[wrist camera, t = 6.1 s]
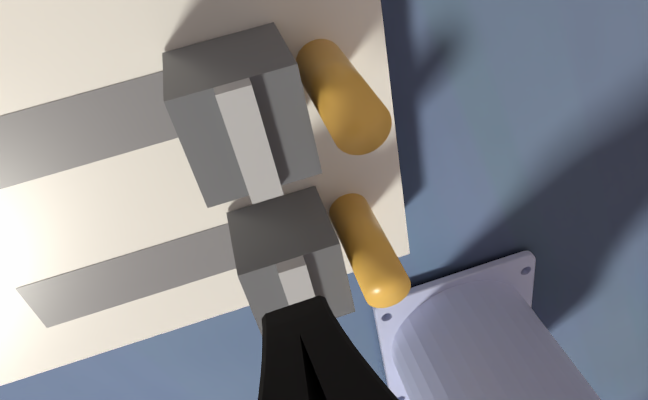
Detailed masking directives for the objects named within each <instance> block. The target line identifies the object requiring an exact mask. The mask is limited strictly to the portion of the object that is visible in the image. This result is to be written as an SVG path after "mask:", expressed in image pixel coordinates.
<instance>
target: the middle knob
mask: <svg viewBox="0 0 648 400" xmlns="http://www.w3.org/2000/svg"><path fill="white" fill-rule="evenodd" d="M162 62H163V98H164V104H165V106H166V109H167V111H168V114H169V116H170V118H171V121H172V123H173V126H174V128H175V131H176V133H177V135H178V138H179V140H180V143H181V145H182V147H183V150H184V152H185V155H186V157H187V160H188V162H189V164H190V167H191V169H192V172H193V174H194V177H195V179H196V181H197V184H198V186H199V189H200V191H201V193H202V196H203V198H204V201H205V203H206V206H207V208H210V207H213V206H216V205H220V204H223V203H226V202H229V201H233V200H236V199H239V198H243V197H246V196H250V199H251V202H252V204H255V203H259V202H262V201H265V200H268V199H272V198H275V197H278V196H281V195H284V194H283V190H282V187H281V186H282V185H285V184H289V183H292V182H295V181H299V180H302V179H305V178H309V177H312V176H315V175H318V174H322V170H321V165H320V161H319V156H318V152H317V148H316V143H315V139H314V134H313V130H312V126H311V121H310V117H309V112H308V108H307V104H306V99H305V95H304V90H303V86H302V82H301V77H300V73H299V68H298V64H297V62H296V60H295V59H294V57H293V55H292V53H291V52H290V50H289V48H288V46H287V45H286V43H285V41H284V39H283V38H282V36H281V34H280V32H279V31H278V29H277V27H276V25H275V24H274V22H272V23H269V24H265V25H261V26H258V27H254V28H251V29H247V30H243V31H240V32H236V33H232V34H229V35H225V36H221V37H218V38H214V39H211V40H207V41H203V42H200V43H196V44H192V45H189V46H185V47H181V48H178V49H174V50H170V51H167V52H163V53H162Z"/></svg>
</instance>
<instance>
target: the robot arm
mask: <svg viewBox="0 0 648 400" xmlns="http://www.w3.org/2000/svg"><path fill="white" fill-rule="evenodd" d="M535 262H536V259H535V256H534V255H533V254H532V253H531V252H530V251H522V252H519V253H516V254H513V255H510V256H507V257H504V258H500V259H497V260H494V261H491V262H488V263H485V264H482V265H479V266H476V267H473V268H470V269H467V270H464V271H461V272H458V273H455V274H452V275H449V276H446V277H443V278H440V279H437V280H434V281H431V282H427V283H424V284H421V285H418V286H415V287H412V288H410V291H409V293H408V295H407V296H406V297H405V298H404V299H403V300H402V301H400V302H399V303H397V304H395V305H393V306H391V307H387V308H375V307H373V312H374V317H375V322H376V327H377V333H378V338H379V343H380V348H381V353H382V359H383V364H384V369H385V374H386V380H387V385H388V387H387V386H386V385H385V383H384V382H383V381H382V380H381V379H380V378H379V376H378V375H377V374H376V373H375V371H374V370H373V369H372V368H371V366H370V365H369V364H368V363H367V361H366V360H365V359H364V358H363V356H362V355H361V354H360V353H359V351H358V350H357V349H356V347H355V346H354V345H353V343H352V342H351V340H350V339H349V337H348V336H347V335H346V333H345V332H344V330H343V329H342V327H341V326H340V324H339V322H338V321H337V319H336V317H335V316H334V314H333V312H332V310H331V308H330V307H329V305H328V302H327V300H326V298H325V297H323V296H320V295H318V296H316V297H313V298H310V299H307V300H304V301H301V302H298V303H295V304H292V305H289V306H286V307H283V308H280V309H277V310H274V311H272V312H269V313H266V314H265V315H264V316H263V317H262V364H261V377H260V386H259V395H258V400H601V399H600V398H599V396H598V395H597V394H596V392H595V391H594V390H593V388H592V387H591V386H590V385H589V383H588V382H587V381H586V379H585V378H584V377H583V375H582V374H581V373H580V371H579V370H578V369H577V367H576V366H575V365H574V364H573V362H572V361H571V360H570V358H569V357H568V356H567V354H566V353H565V352H564V350H563V349H562V348H561V347H560V345H559V344H558V343H557V341H556V340H555V339H554V337H553V336H552V335H551V333H550V332H549V331H548V329H547V328H546V327H545V326H544V324H543V323H542V322H541V320H540V319H539V318H538V316H537V315H536V314H535V312H534V311H533V310H532V308H531V306H532V295H533V284H534V273H535ZM386 313H387V314H386ZM384 314H385V315H384Z"/></svg>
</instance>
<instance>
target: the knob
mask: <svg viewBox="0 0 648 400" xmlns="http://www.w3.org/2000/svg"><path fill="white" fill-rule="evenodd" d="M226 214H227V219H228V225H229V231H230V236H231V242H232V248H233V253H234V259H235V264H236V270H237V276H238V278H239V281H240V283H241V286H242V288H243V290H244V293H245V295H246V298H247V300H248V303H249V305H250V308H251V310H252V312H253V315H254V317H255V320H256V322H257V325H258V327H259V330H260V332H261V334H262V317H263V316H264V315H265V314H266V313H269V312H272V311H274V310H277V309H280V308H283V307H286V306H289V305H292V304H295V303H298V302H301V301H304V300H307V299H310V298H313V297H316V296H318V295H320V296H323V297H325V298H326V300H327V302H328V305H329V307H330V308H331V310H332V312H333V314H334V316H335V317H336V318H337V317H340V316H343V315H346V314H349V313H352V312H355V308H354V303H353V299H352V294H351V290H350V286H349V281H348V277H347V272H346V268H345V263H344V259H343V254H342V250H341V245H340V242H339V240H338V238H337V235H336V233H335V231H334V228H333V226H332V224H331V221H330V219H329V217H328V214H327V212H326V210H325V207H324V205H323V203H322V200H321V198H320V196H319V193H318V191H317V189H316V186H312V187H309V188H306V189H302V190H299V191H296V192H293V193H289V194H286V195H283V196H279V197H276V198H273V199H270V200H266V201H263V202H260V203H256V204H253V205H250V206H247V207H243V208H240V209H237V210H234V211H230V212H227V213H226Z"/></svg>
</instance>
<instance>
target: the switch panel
mask: <svg viewBox="0 0 648 400" xmlns="http://www.w3.org/2000/svg"><path fill="white" fill-rule="evenodd" d="M272 22H274V24H275V25H276V27H277V29H278V31H279V32H280V34H281V36H282V38H283V39H284V41H285V43H286V45H287V46H288V48H289V50H290V52H291V53H292V55H293V57H294V59H295V60H296V62H297V64H298V68H299V73H300V77H301V82H302V86H303V90H304V95H305V99H306V104H307V108H308V112H309V117H310V121H311V126H312V130H313V134H314V139H315V143H316V148H317V152H318V156H319V161H320V165H321V170H322V174H318V175H315V176H312V177H309V178H305V179H302V180H299V181H295V182H292V183H289V184H285V185H282V186H281V187H282V190H283V194H284V195H286V194H289V193H293V192H296V191H299V190H302V189H306V188H309V187H312V186H316V189H317V191H318V193H319V196H320V198H321V200H322V203H323V205H324V207H325V210H326V212H327V214H328V217H329V219H330V221H331V224H332V226H333V228H334V231H335V233H336V235H337V238H338V240H339V242H340V245H341V250H342V254H343V259H344V263H345V268H346V272H347V274H348V273H351V272H354V274H355V276H356V279H357V281H358V283H359V286H360V288H361V290H362V292H363V295H364V297H365V299H366V301H367V303H368V304H369V305H370V306H372V307H375V308H387V307H391V306H393V305H395V304H397V303H399V302H400V301H402V300H403V299H404V298H405V297H406V296H407V295H408V293H409V291H410V288H411V281H410V279H409V277H408V275H407V273H406V272H405V270H404V268H403V266H402V264H401V263H400V261H399V259H398V257H401V256H404V255H407V254H410V252H409V243H408V235H407V226H406V217H405V209H404V200H403V191H402V182H401V174H400V165H399V156H398V147H397V139H396V130H395V121H394V113H393V104H392V95H391V86H390V78H389V69H388V60H387V52H386V43H385V34H384V25H383V17H382V8H381V0H0V386H1V385H4V384H7V383H11V382H14V381H17V380H20V379H23V378H26V377H29V376H32V375H35V374H38V373H42V372H45V371H48V370H51V369H54V368H57V367H60V366H63V365H66V364H69V363H73V362H76V361H79V360H82V359H85V358H88V357H91V356H94V355H97V354H100V353H104V352H107V351H110V350H113V349H116V348H119V347H122V346H125V345H128V344H131V343H135V342H138V341H141V340H144V339H147V338H150V337H153V336H156V335H159V334H162V333H165V332H169V331H172V330H175V329H178V328H181V327H184V326H187V325H190V324H193V323H196V322H200V321H203V320H206V319H209V318H212V317H215V316H218V315H221V314H224V313H227V312H231V311H234V310H237V309H240V308H243V307H246V306H249V303H248V300H247V298H246V295H245V293H244V290H243V288H242V286H241V283H240V281H239V278H238V276H237V270H236V264H235V259H234V253H233V248H232V242H231V236H230V231H229V225H228V219H227V214H226V213H227V212H230V211H234V210H237V209H240V208H243V207H247V206H250V205H253V204H252V202H251V199H250V196H246V197H243V198H239V199H236V200H233V201H229V202H226V203H223V204H220V205H216V206H213V207H210V208H207V206H206V203H205V201H204V198H203V196H202V193H201V191H200V189H199V186H198V184H197V181H196V179H195V177H194V174H193V172H192V169H191V167H190V164H189V162H188V160H187V157H186V155H185V152H184V150H183V147H182V145H181V143H180V140H179V138H178V135H177V133H176V131H175V128H174V126H173V123H172V121H171V118H170V116H169V114H168V111H167V109H166V106H165V104H164V98H163V62H162V53H163V52H167V51H170V50H174V49H178V48H181V47H185V46H189V45H192V44H196V43H200V42H203V41H207V40H211V39H214V38H218V37H221V36H225V35H229V34H232V33H236V32H240V31H243V30H247V29H251V28H254V27H258V26H261V25H265V24H269V23H272ZM281 196H283V195H281ZM278 197H279V196H278ZM275 198H276V197H275ZM272 199H273V198H272ZM268 200H270V199H268ZM265 201H266V200H265ZM262 202H263V201H262ZM259 203H260V202H259ZM255 204H256V203H255Z"/></svg>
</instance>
